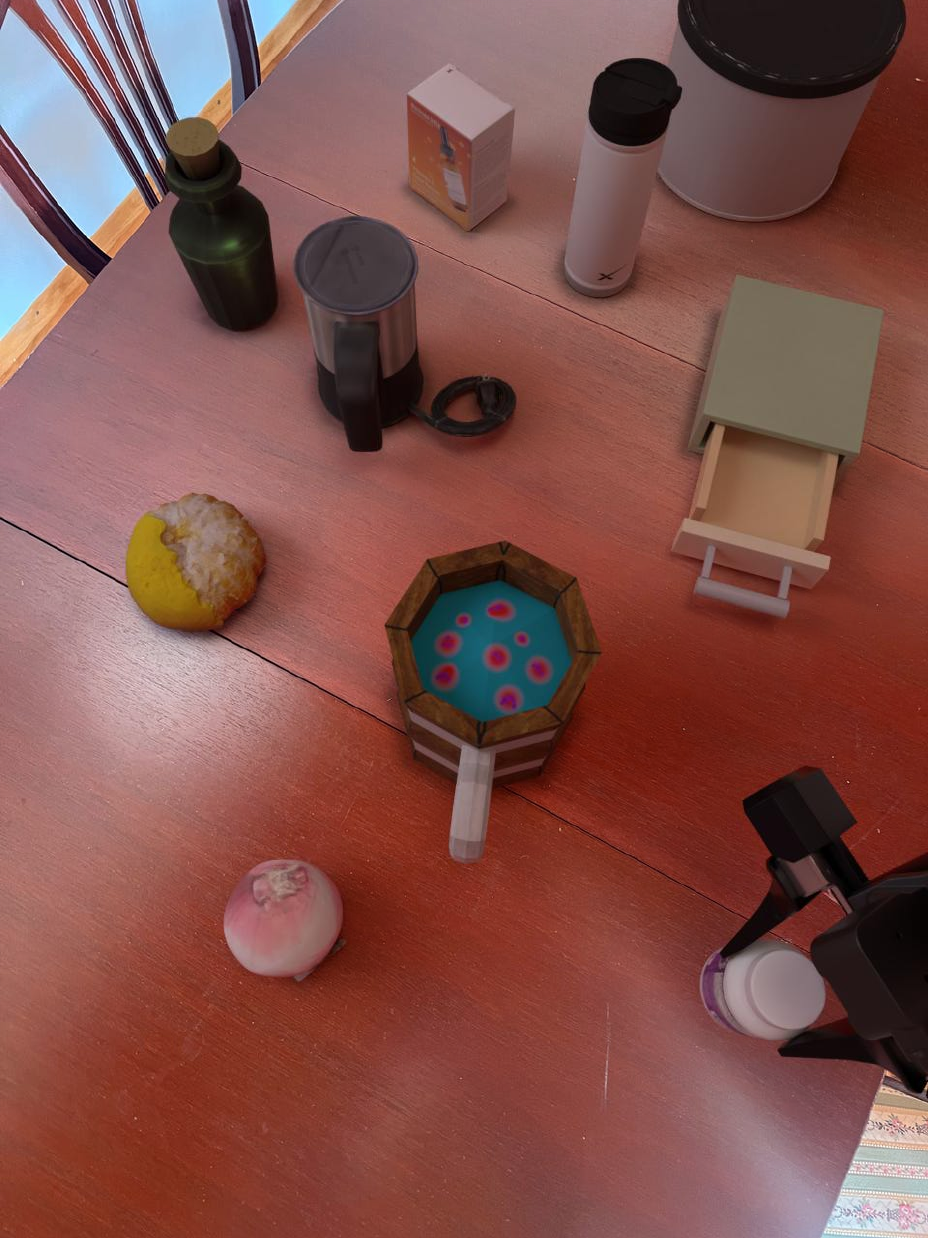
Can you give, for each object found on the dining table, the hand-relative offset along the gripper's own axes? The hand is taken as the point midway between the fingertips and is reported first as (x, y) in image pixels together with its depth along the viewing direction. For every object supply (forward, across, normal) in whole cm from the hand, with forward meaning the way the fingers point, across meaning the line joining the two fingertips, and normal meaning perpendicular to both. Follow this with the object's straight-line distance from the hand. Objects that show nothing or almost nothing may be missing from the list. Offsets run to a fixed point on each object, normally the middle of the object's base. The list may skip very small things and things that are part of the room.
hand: (751, 1000), depth 53 cm
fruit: (+22, -45, -3) cm, 50 cm away
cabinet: (-14, -38, +33) cm, 52 cm away
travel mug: (-9, -56, +28) cm, 64 cm away
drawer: (-8, -28, +26) cm, 39 cm away
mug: (+13, -22, +6) cm, 27 cm away
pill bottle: (+4, 0, +6) cm, 7 cm away
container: (-23, -63, +43) cm, 80 cm away
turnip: (+25, -18, -6) cm, 31 cm away
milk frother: (+6, -52, +13) cm, 54 cm away
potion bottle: (+12, -68, +7) cm, 70 cm away
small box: (-4, -71, +23) cm, 75 cm away
